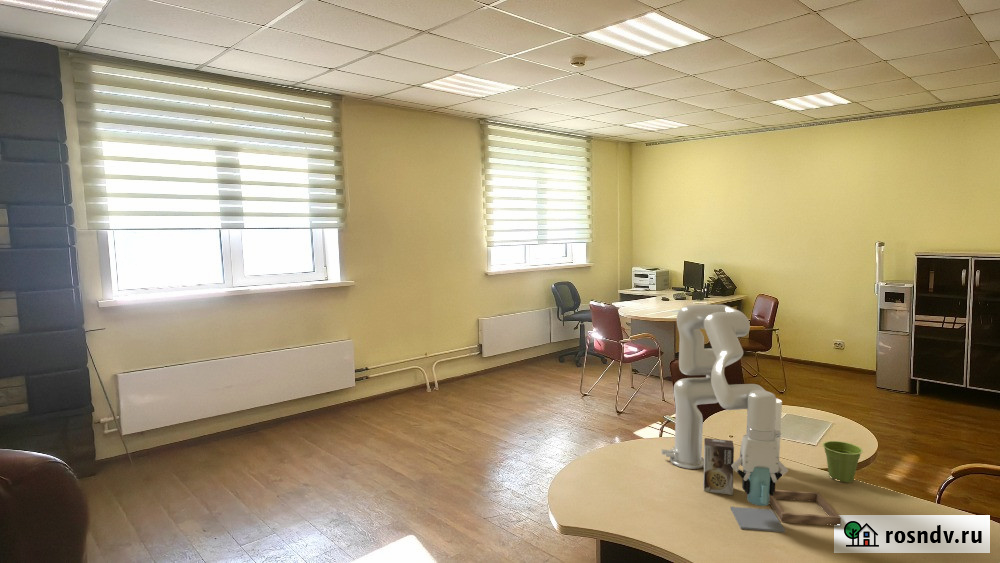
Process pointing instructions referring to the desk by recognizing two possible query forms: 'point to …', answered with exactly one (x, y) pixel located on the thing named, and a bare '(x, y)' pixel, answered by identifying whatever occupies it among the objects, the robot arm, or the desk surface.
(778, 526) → the rubber mat
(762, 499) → the teal mug
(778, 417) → the cylindrical container
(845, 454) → the plant pot
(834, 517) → the brown wooden square frame
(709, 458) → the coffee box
